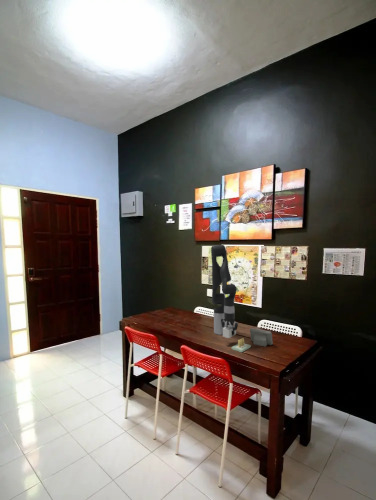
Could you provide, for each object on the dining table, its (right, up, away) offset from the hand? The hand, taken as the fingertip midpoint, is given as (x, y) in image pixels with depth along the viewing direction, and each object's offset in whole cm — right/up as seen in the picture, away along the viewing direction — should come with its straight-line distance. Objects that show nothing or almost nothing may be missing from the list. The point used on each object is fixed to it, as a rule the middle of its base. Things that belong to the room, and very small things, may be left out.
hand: (229, 334), depth 177 cm
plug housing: (0, -1, 0) cm, 1 cm away
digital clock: (+24, -8, +1) cm, 25 cm away
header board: (+7, -7, -7) cm, 12 cm away
